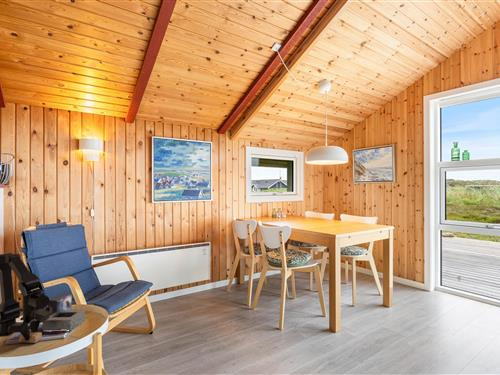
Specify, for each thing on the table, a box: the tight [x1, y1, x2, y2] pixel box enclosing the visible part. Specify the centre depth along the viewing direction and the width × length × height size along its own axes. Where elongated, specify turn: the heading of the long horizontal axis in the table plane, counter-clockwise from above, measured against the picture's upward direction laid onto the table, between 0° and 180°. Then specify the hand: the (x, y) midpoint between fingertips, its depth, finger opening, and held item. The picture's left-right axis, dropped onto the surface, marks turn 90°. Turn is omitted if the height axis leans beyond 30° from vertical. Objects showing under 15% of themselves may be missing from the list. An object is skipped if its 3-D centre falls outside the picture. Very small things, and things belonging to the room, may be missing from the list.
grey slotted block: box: [42, 309, 86, 333], centre depth 148 cm, size 14×12×6 cm
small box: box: [47, 292, 73, 315], centre depth 163 cm, size 11×6×10 cm, turn 168°
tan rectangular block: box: [19, 331, 43, 344], centre depth 134 cm, size 8×4×3 cm, turn 84°
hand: (30, 338), depth 134 cm, fingers closed on tan rectangular block, 4 cm apart
